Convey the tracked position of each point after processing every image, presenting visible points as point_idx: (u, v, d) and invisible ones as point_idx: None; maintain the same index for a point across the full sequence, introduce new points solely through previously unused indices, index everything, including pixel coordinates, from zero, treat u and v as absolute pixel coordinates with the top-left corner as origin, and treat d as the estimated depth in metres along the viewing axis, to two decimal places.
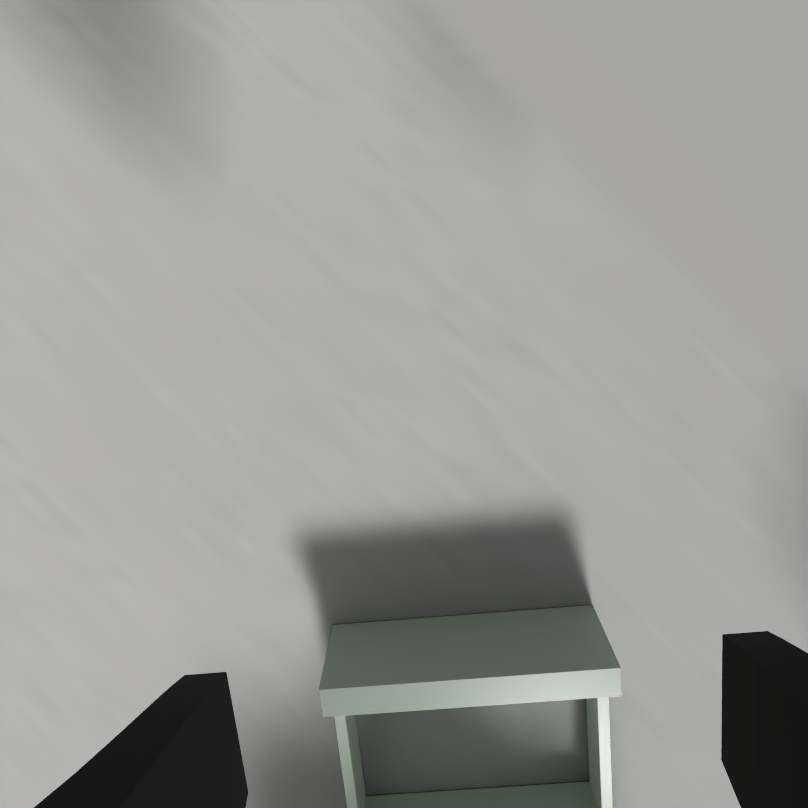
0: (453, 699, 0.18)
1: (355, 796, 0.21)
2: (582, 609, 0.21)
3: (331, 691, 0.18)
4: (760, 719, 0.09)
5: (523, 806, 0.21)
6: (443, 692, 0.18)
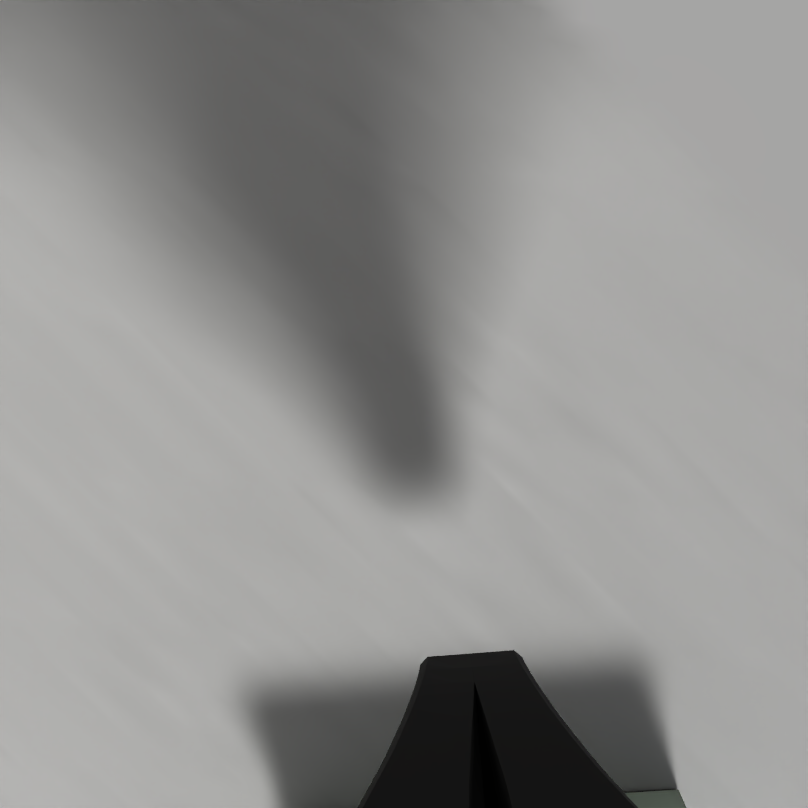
0: None
1: None
2: (664, 797, 0.14)
3: None
4: (480, 739, 0.09)
5: None
6: None
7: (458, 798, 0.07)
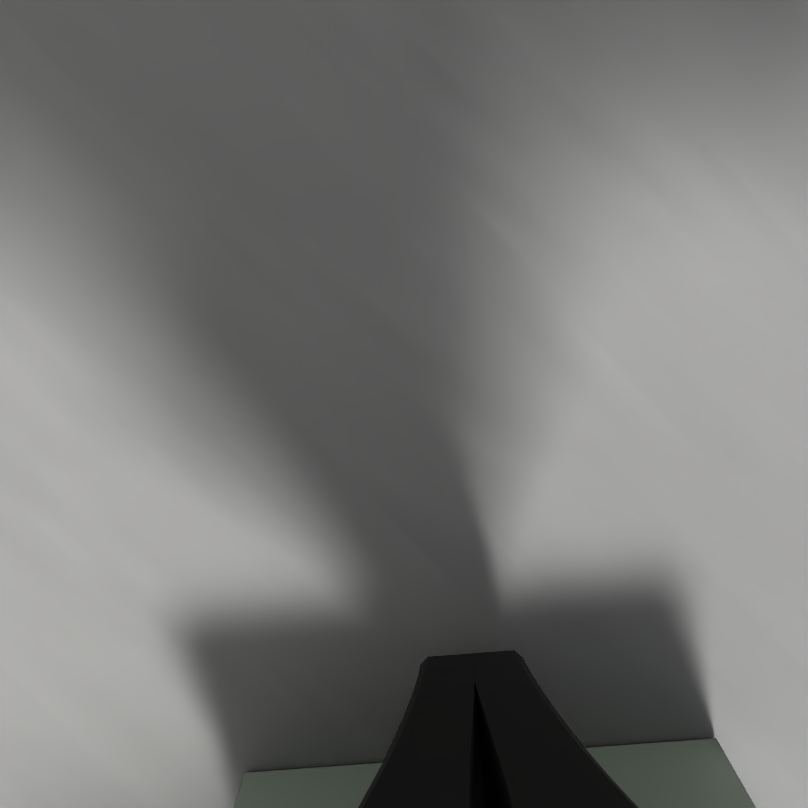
0: None
1: None
2: (698, 747, 0.11)
3: None
4: (481, 738, 0.09)
5: None
6: None
7: (458, 798, 0.07)
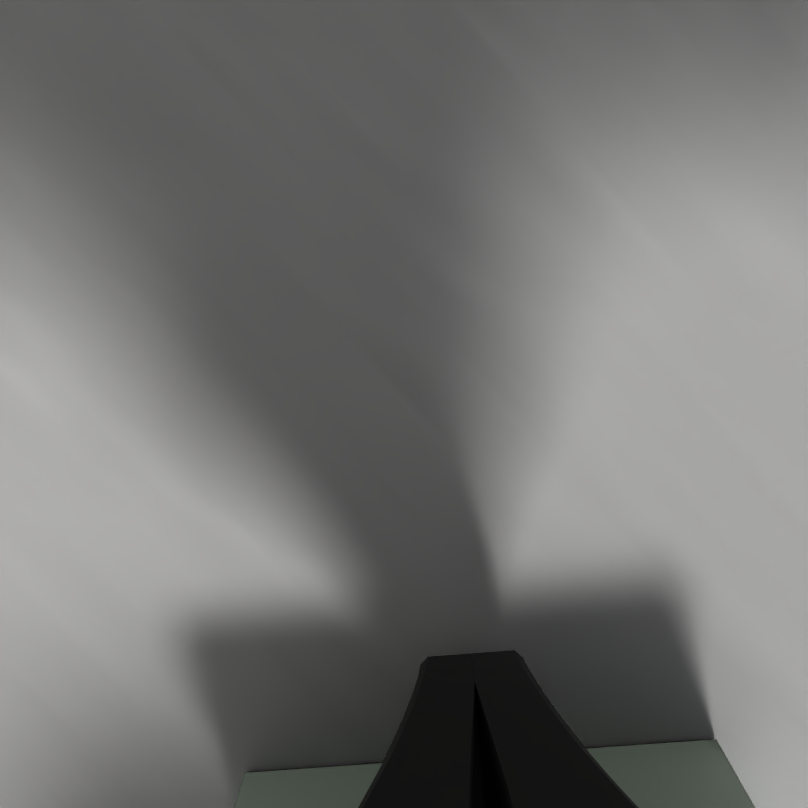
0: None
1: None
2: (699, 748, 0.11)
3: None
4: (481, 739, 0.09)
5: None
6: None
7: (458, 798, 0.07)
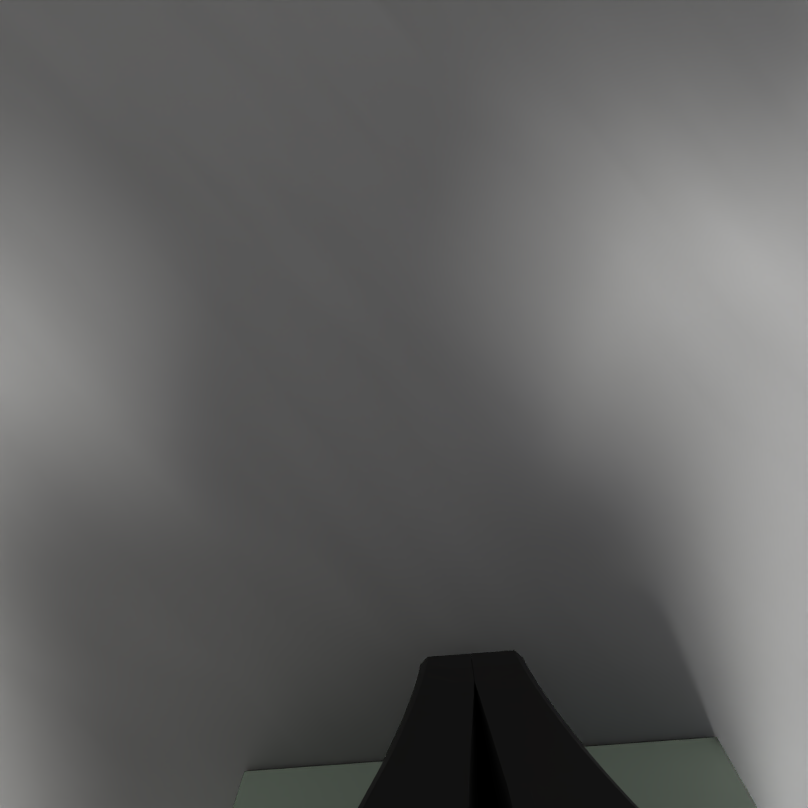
0: None
1: None
2: (699, 746, 0.11)
3: None
4: (480, 739, 0.09)
5: None
6: None
7: (458, 798, 0.07)
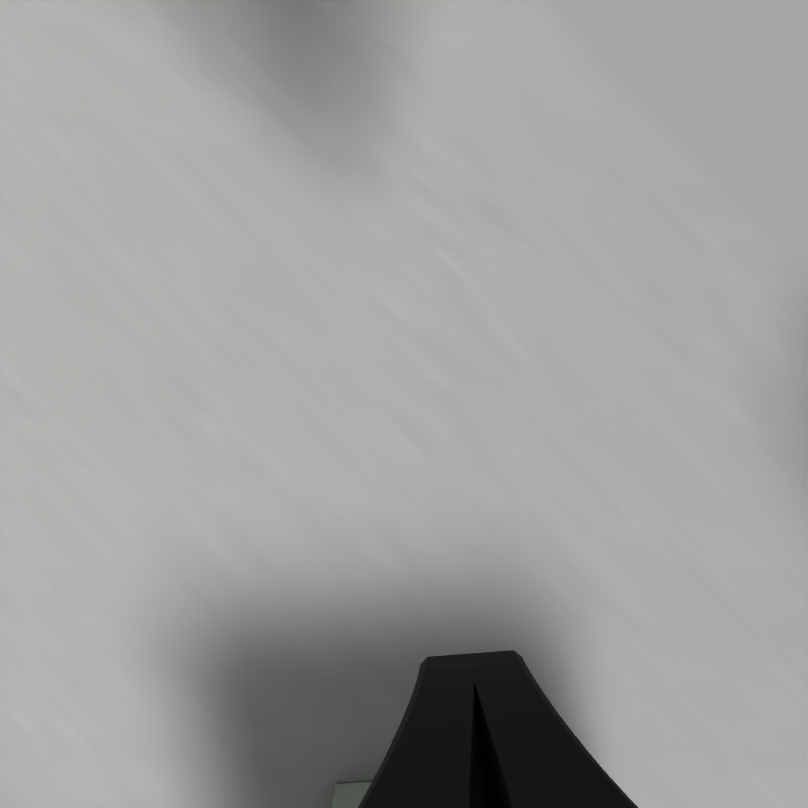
0: None
1: None
2: None
3: None
4: (480, 739, 0.09)
5: None
6: None
7: (458, 798, 0.07)
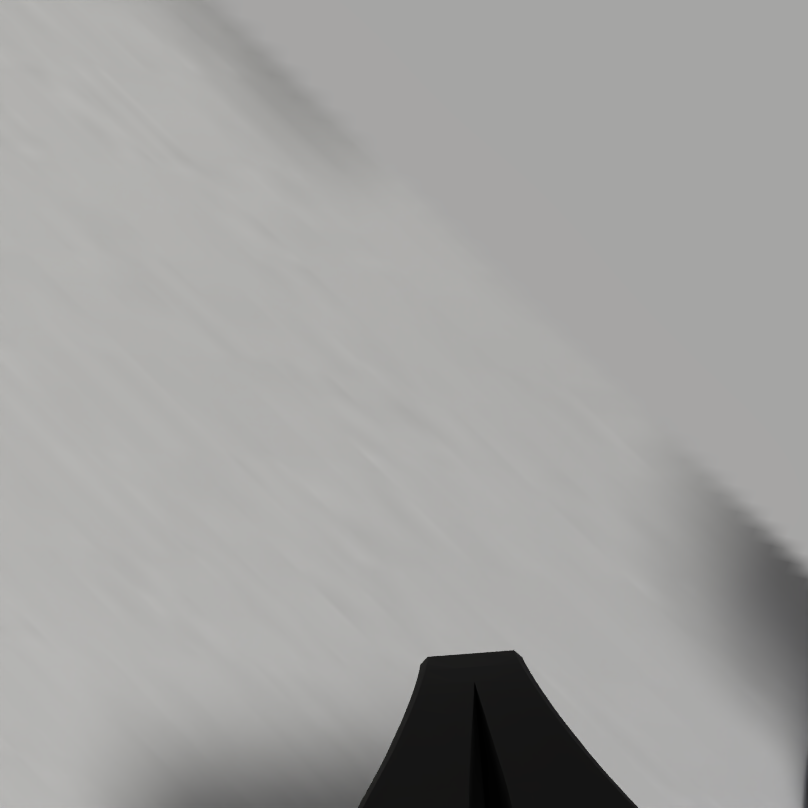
0: None
1: None
2: None
3: None
4: (480, 739, 0.09)
5: None
6: None
7: (458, 798, 0.07)
